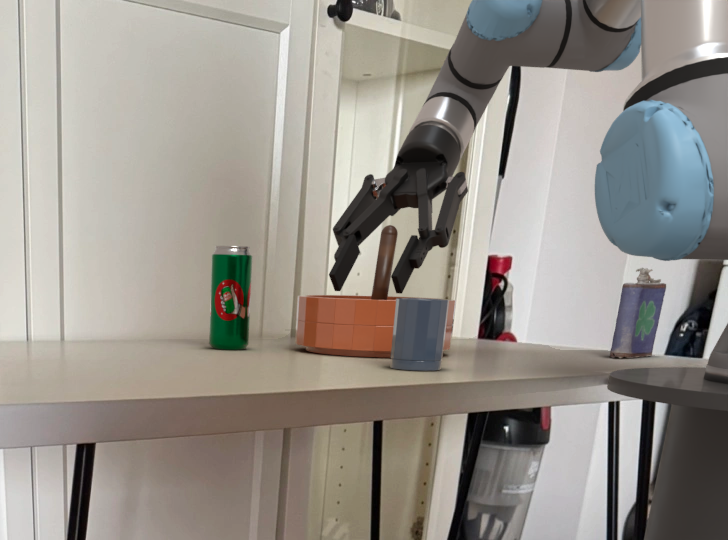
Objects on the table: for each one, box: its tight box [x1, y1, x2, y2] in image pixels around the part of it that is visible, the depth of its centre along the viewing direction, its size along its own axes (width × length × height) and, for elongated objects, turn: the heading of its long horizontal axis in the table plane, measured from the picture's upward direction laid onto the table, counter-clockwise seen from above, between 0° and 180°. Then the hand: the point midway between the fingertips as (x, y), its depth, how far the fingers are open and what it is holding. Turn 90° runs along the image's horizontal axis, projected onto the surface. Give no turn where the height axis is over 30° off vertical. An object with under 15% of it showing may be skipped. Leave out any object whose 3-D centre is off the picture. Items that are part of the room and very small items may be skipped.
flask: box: [609, 267, 667, 359], centre depth 133 cm, size 9×3×11 cm, turn 132°
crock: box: [389, 297, 449, 372], centre depth 110 cm, size 5×6×7 cm
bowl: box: [294, 294, 457, 359], centre depth 131 cm, size 20×20×6 cm
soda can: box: [208, 245, 253, 351], centre depth 130 cm, size 5×5×12 cm
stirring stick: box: [370, 224, 399, 300], centre depth 129 cm, size 2×2×14 cm
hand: (365, 283), depth 126 cm, fingers open, 8 cm apart
